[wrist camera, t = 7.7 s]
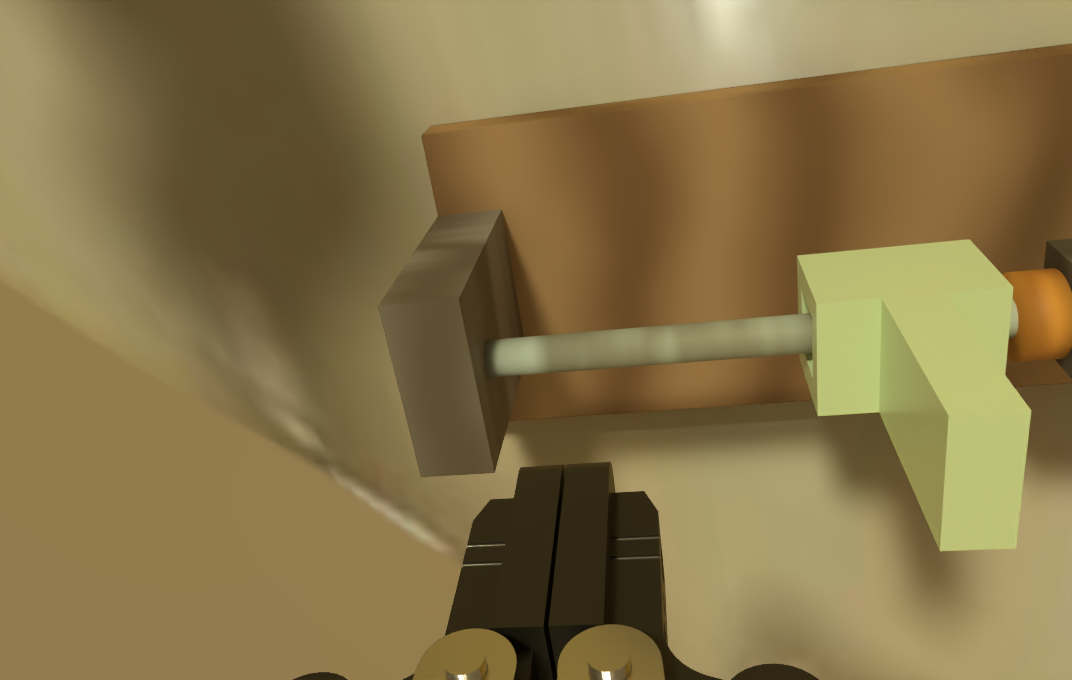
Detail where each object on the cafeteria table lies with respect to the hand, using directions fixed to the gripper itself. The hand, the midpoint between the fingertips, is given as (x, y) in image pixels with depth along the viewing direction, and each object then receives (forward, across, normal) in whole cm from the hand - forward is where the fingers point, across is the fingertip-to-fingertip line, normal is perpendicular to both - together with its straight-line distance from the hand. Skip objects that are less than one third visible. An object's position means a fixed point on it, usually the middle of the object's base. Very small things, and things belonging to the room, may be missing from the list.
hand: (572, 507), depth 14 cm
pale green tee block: (+14, -8, +4) cm, 17 cm away
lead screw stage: (+20, -6, +4) cm, 21 cm away
